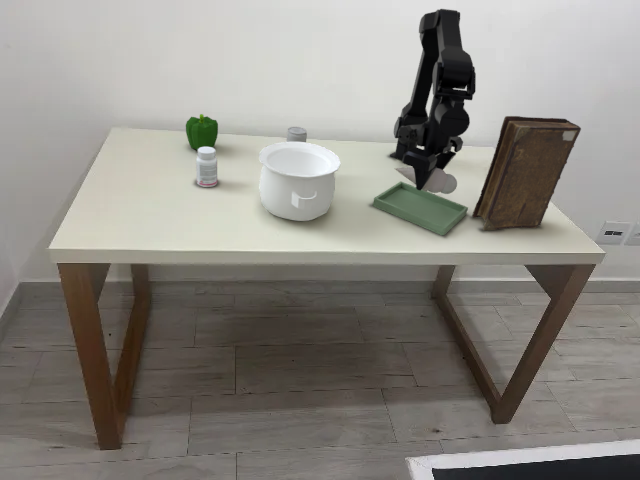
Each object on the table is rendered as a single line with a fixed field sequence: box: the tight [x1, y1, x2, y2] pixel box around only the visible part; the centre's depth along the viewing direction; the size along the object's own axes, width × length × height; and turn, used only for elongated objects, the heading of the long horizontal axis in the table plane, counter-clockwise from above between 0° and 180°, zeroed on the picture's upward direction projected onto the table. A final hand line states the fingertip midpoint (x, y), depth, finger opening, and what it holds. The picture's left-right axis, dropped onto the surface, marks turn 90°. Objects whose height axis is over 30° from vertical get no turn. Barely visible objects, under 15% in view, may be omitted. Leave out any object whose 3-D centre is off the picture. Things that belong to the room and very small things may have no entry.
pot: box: [258, 141, 342, 222], centre depth 109 cm, size 22×17×12 cm
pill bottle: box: [195, 147, 218, 188], centre depth 115 cm, size 5×5×8 cm
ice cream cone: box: [394, 166, 458, 195], centre depth 112 cm, size 6×6×15 cm
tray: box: [372, 181, 469, 236], centre depth 117 cm, size 13×18×2 cm
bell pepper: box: [185, 113, 219, 152], centre depth 131 cm, size 8×8×10 cm
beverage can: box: [285, 126, 308, 143], centre depth 123 cm, size 5×5×12 cm
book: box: [471, 115, 582, 231], centre depth 110 cm, size 17×7×25 cm, turn 99°
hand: (425, 184), depth 114 cm, fingers closed on ice cream cone, 7 cm apart
